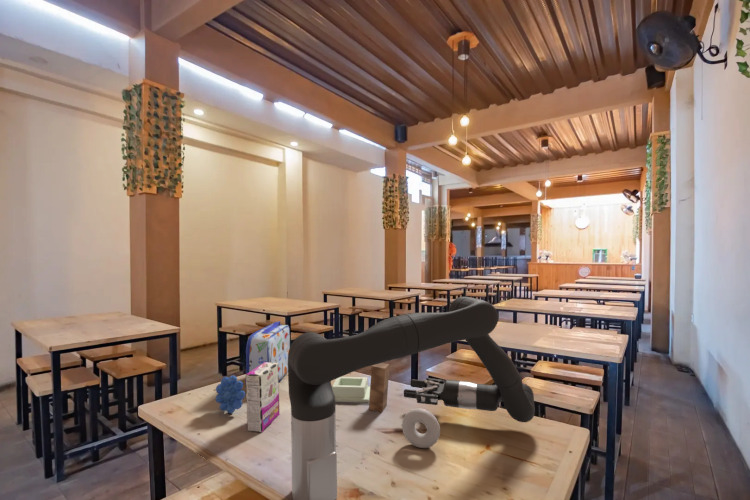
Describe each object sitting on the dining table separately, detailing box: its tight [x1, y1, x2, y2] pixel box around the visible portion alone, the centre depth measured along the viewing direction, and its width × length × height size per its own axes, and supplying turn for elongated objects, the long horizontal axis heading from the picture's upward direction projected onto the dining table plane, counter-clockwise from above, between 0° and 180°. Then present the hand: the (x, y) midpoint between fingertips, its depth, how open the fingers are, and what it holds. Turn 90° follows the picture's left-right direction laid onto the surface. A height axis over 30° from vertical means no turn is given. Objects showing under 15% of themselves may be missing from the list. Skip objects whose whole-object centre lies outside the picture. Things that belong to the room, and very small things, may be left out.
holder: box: [332, 376, 370, 403], centre depth 128 cm, size 14×12×4 cm
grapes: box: [215, 375, 246, 414], centre depth 117 cm, size 12×7×12 cm, turn 66°
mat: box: [331, 384, 369, 406], centre depth 128 cm, size 18×16×1 cm
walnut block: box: [368, 362, 390, 413], centre depth 117 cm, size 4×4×14 cm
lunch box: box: [244, 321, 291, 385], centre depth 143 cm, size 28×10×22 cm, turn 176°
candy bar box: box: [245, 362, 281, 433], centre depth 109 cm, size 11×5×16 cm, turn 168°
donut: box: [401, 407, 441, 449], centre depth 95 cm, size 10×4×10 cm, turn 69°
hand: (407, 387), depth 114 cm, fingers open, 8 cm apart
